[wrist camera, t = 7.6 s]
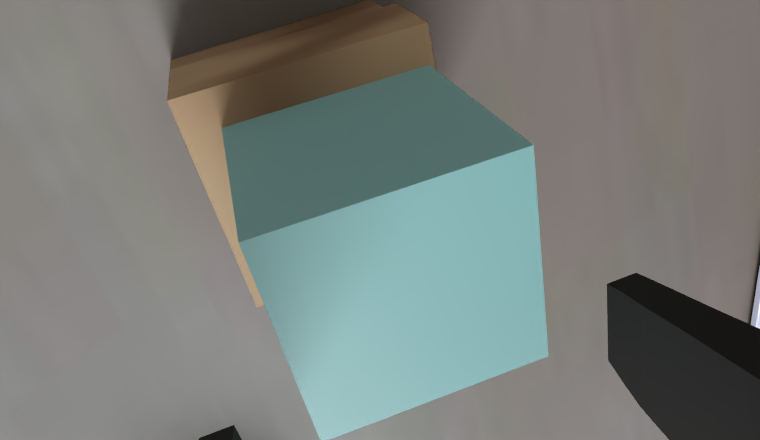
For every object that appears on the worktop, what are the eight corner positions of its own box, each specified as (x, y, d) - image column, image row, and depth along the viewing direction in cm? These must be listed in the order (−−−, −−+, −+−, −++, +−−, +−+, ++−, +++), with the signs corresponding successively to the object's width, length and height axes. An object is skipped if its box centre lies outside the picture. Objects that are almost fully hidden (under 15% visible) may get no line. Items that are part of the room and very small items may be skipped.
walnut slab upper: (395, 2, 16) (427, 21, 13) (432, 195, 19) (463, 235, 17) (170, 69, 15) (166, 100, 13) (249, 258, 18) (257, 307, 16)
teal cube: (429, 64, 14) (533, 145, 10) (457, 236, 17) (548, 356, 12) (221, 127, 13) (238, 242, 9) (285, 295, 16) (321, 442, 12)
